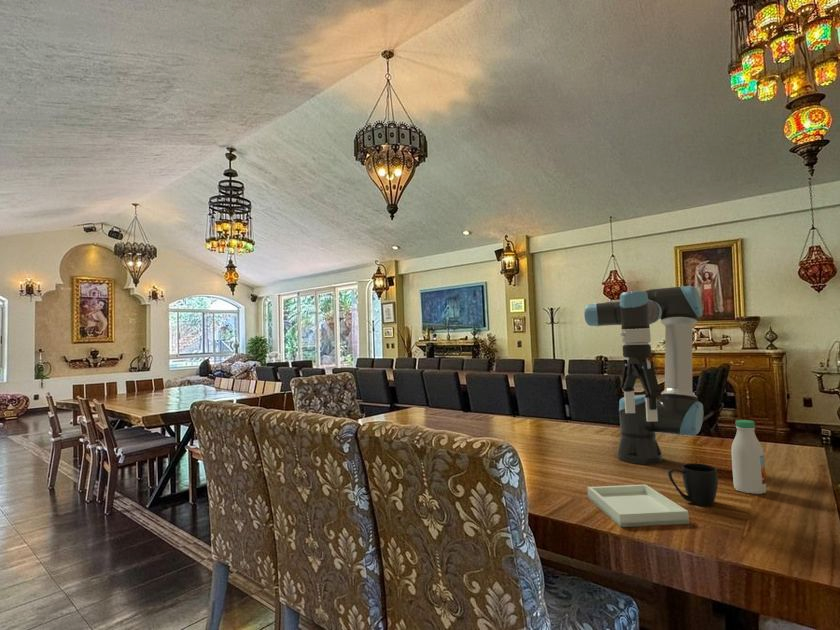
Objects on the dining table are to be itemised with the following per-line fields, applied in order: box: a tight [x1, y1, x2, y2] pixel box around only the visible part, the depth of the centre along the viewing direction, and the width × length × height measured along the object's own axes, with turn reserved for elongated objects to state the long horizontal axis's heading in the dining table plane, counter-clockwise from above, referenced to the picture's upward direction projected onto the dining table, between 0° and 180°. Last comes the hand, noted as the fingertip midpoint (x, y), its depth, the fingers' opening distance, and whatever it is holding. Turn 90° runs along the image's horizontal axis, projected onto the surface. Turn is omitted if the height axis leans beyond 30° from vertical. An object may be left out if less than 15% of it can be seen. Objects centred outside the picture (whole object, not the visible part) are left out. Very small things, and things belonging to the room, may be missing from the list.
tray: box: [587, 484, 690, 528], centre depth 119 cm, size 17×20×3 cm
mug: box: [667, 462, 719, 507], centre depth 123 cm, size 8×12×10 cm
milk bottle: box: [730, 419, 767, 495], centre depth 130 cm, size 8×8×20 cm
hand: (640, 417), depth 130 cm, fingers open, 13 cm apart
